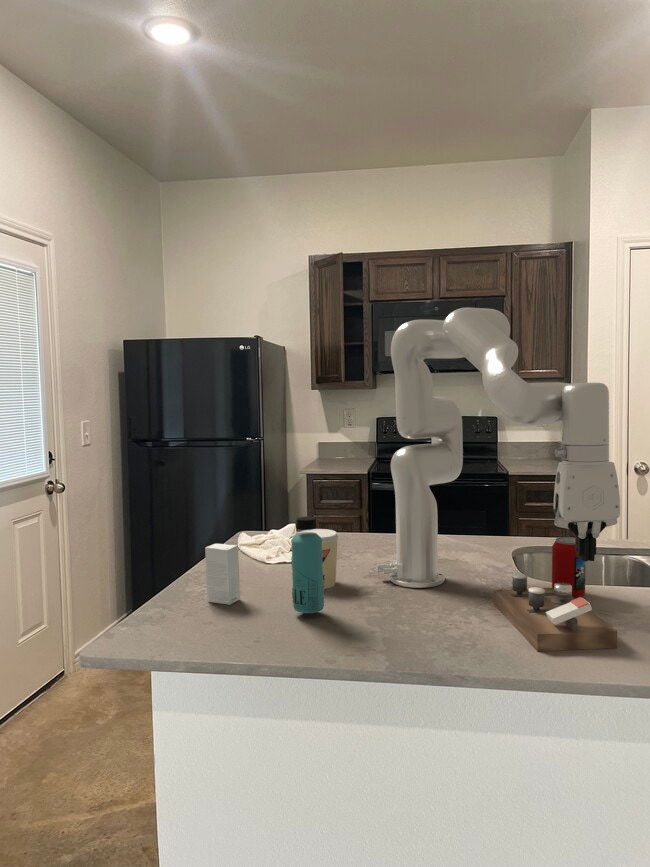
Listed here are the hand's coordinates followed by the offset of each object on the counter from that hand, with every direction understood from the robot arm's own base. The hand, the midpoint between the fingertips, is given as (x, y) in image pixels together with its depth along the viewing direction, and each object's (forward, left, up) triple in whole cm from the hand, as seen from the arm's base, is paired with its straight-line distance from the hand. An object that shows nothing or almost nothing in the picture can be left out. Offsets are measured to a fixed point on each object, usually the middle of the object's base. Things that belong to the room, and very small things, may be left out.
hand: (585, 559), depth 116 cm
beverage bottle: (-48, +19, -15) cm, 54 cm away
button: (+1, +13, -11) cm, 17 cm away
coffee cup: (-45, +39, -15) cm, 62 cm away
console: (-3, +9, -15) cm, 18 cm away
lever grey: (-6, +17, -12) cm, 22 cm away
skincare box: (-66, +30, -15) cm, 74 cm away
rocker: (-3, 0, -10) cm, 10 cm away
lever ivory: (-6, +8, -12) cm, 16 cm away
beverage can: (+8, +25, -15) cm, 31 cm away
